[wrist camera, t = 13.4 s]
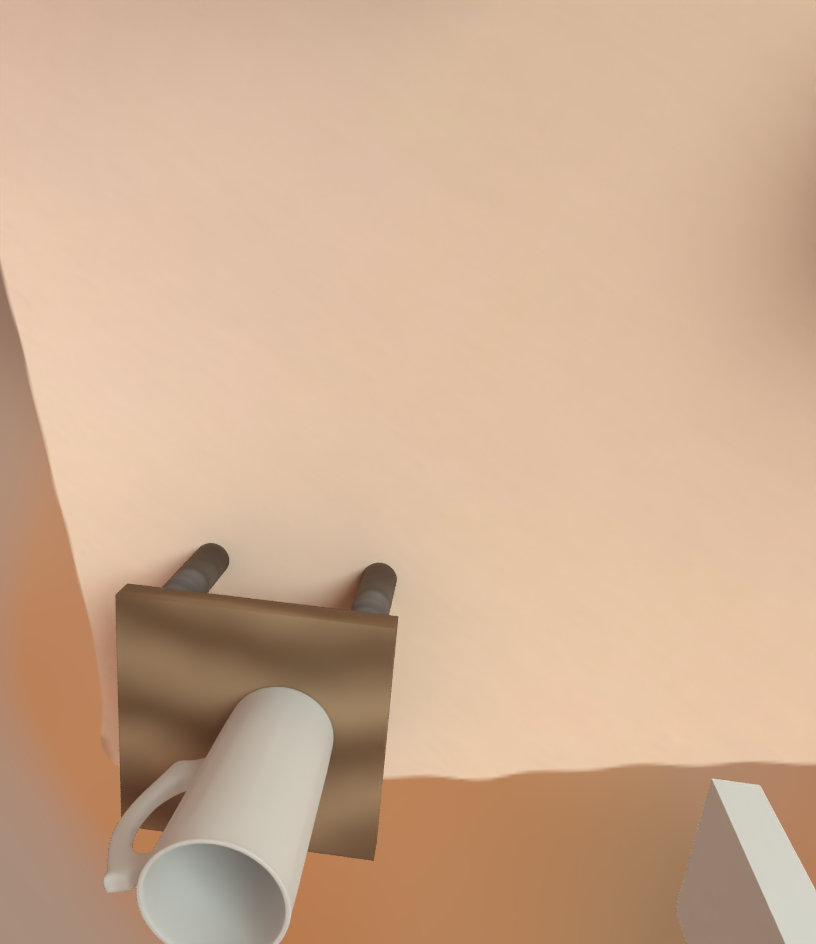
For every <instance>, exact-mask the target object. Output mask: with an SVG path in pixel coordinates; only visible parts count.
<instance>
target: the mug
mask: <svg viewBox="0 0 816 944" xmlns="http://www.w3.org/2000/svg"><path fill="white" fill-rule="evenodd" d="M333 740H334V736H333V728H332V724H331V721H330V719H329V717H328V715H327V714H326V712H325V711H324V709H323V708H322V707H321V706H320V705H319V704H318V703H317V702H316V701H315V700H314V699H312V698H311V697H309V696H308V695H306V694H304V693H302V692H300V691H298V690H295V689H291V688H286V687H266V688H262V689H259V690H256V691H254V692H252V693H250V694H248V695H247V696H246V697H244V698H243V699H242V700H241V701H240V702H239V703H238V704H237V706H236V707H235V708H234V710H233V712H232V713H231V715H230V717H229V718H228V720H227V721H226V723H225V725H224V726H223V728H222V730H221V732H220V733H219V735H218V737H217V739H216V740H215V742H214V744H213V746H212V747H211V749H210V751H209V753H208V755H207V756H206V758H202V759H198V760H183V761H178V762H176V763H174V764H173V765H172V766H171V767H170V768H169V769H168V770H167V771H166V772H165V773H164V774H162V775H161V776H160V777H159V778H158V779H157V780H156V781H155V782H154V783H153V784H152V785H151V786H150V787H148V788H147V789H146V790H145V791H144V792H143V793H142V794H141V795H140V796H139V797H138V798H137V799H136V800H135V801H134V803H133V804H132V805H131V806H130V807H129V808H128V810H127V811H126V812H125V813H124V815H123V816H122V818H121V819H120V821H119V822H118V824H117V826H116V828H115V830H114V832H113V834H112V837H111V840H110V843H109V849H108V860H107V861H108V862H107V872H106V874H105V876H104V878H103V884H104V887H105V890H106V891H107V892H108V893H114V892H121V891H129V890H131V889H132V888H134V887H135V886H137V888H136V896H137V904H138V907H139V910H140V913H141V915H142V917H143V919H144V921H145V922H146V924H147V925H148V927H149V928H150V929H151V931H152V932H153V933H154V934H155V935H156V936H157V937H158V938H159V939H160V940H161V941H162V942H164V943H165V944H278V943H279V942H280V941H281V940H282V938H283V937H284V935H285V933H286V931H287V929H288V926H289V923H290V918H291V913H292V909H293V906H294V902H295V898H296V895H297V891H298V887H299V883H300V879H301V875H302V871H303V867H304V863H305V859H306V854H307V851H308V847H309V843H310V838H311V834H312V830H313V826H314V822H315V818H316V814H317V810H318V806H319V802H320V798H321V794H322V790H323V786H324V782H325V778H326V774H327V770H328V766H329V761H330V756H331V752H332V747H333ZM185 791H186V793H185V795H184V796H183V798H182V800H181V802H180V803H179V805H178V807H177V809H176V810H175V812H174V814H173V816H172V817H171V819H170V821H169V823H168V824H167V826H166V828H165V830H164V831H163V833H162V835H161V837H160V838H159V840H158V842H157V844H156V846H155V847H154V849H153V851H152V852H150V853H144V854H141V853H136V852H134V850H133V840H134V837H135V835H136V833H137V831H138V829H139V828H140V826H141V825H142V823H143V822H144V821H145V820H146V818H147V817H148V816H149V815H150V814H151V813H152V812H153V811H154V810H155V809H156V808H157V807H158V806H160V805H161V804H162V803H164V802H165V801H167V800H168V799H170V798H172V797H174V796H176V795H178V794H180V793H182V792H185Z"/></svg>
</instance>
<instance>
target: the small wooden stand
mask: <svg viewBox="0 0 816 944" xmlns="http://www.w3.org/2000/svg"><path fill="white" fill-rule="evenodd" d="M228 565H229V556H228V554H227V552H226V551H225V549H224V548H222V547H221V546H219V545H217V544H214V543H208V544H205V545H203V546H201V547H200V548H199V549H198V550H197V551H196V552H195V553H194V554H193V555H192V557H191V558H190V559H189V560H188V561H187V562H186V563H185V564H184V565H183V566H182V567H181V568H180V569H179V570H178V571H177V572H176V573H175V574H174V576H173V577H172V578H171V579H170V580H169V581H168V582H167V583H166V584H165V585H164V586H163V587H162V588H159V587H151V586H143V585H134V584H127V585H126V586H124V587H123V588H122V589H121V590H120V591H119V592H118V593H117V594H116V595H115V596H116V633H117V670H118V708H119V745H120V781H121V818H122V816H123V815H124V813H125V812H126V811H127V810H128V808H129V807H130V806H131V805H132V804H133V803H134V801H135V800H136V799H137V798H138V797H139V796H140V795H141V794H142V793H143V792H144V791H145V790H146V789H147V788H148V787H150V786H151V785H152V784H153V783H154V782H155V781H156V780H157V779H158V778H159V777H160V776H161V775H162V774H164V773H165V772H166V771H167V770H168V769H169V768H170V767H171V766H172V765H173V764H174V763H176V762H178V761H183V760H198V759H202V758H206V756H207V755H208V753H209V751H210V749H211V747H212V746H213V744H214V742H215V740H216V739H217V737H218V735H219V733H220V732H221V730H222V728H223V726H224V725H225V723H226V721H227V720H228V718H229V717H230V715H231V713H232V712H233V710H234V708H235V707H236V706H237V704H238V703H239V702H240V701H241V700H242V699H243V698H244V697H246V696H247V695H248V694H250V693H252V692H254V691H256V690H259V689H262V688H266V687H286V688H291V689H295V690H298V691H300V692H302V693H304V694H306V695H308V696H309V697H311V698H312V699H314V700H315V701H316V702H317V703H318V704H319V705H320V706H321V707H322V708H323V709H324V711H325V712H326V714H327V715H328V717H329V719H330V721H331V724H332V728H333V736H334V740H333V747H332V752H331V756H330V761H329V766H328V770H327V774H326V778H325V782H324V786H323V790H322V794H321V798H320V802H319V806H318V810H317V814H316V818H315V822H314V826H313V830H312V834H311V838H310V843H309V847H308V851H307V852H315V853H321V854H329V855H337V856H344V857H351V858H357V859H365V860H372V861H373V860H374V855H375V849H376V843H377V833H378V823H379V813H380V802H381V791H382V781H383V771H384V760H385V750H386V740H387V729H388V719H389V708H390V698H391V687H392V677H393V667H394V656H395V646H396V635H397V625H398V616H391V615H389V612H390V608H391V604H392V599H393V595H394V590H395V586H396V581H397V577H396V574H395V572H394V570H393V569H392V568H391V567H390V566H388V565H386V564H383V563H374V564H372V565H370V566H368V567H367V568H366V569H365V571H364V573H363V576H362V579H361V582H360V585H359V588H358V591H357V594H356V597H355V600H354V603H353V605H352V608H351V611H350V610H342V609H333V608H325V607H317V606H308V605H300V604H292V603H284V602H275V601H267V600H259V599H250V598H242V597H234V596H225V595H217V594H209V593H208V591H209V590H210V589H211V588H212V586H213V585H214V584H215V583H216V581H217V580H218V579H219V578H220V576H221V575H222V574H223V573H224V571H225V570H226V569H227V567H228ZM185 793H186V791H185V792H182V793H180V794H178V795H176V796H174V797H172V798H170V799H168V800H167V801H165V802H164V803H162V804H161V805H160V806H158V807H157V808H156V809H155V810H154V811H153V812H152V813H151V814H150V815H149V816H148V817H147V818H146V820H145V821H144V822H143V823H142V825H141V826H140V828H142V829H149V830H156V831H164V830H165V828H166V826H167V824H168V823H169V821H170V819H171V817H172V816H173V814H174V812H175V810H176V809H177V807H178V805H179V803H180V802H181V800H182V798H183V796H184V795H185Z"/></svg>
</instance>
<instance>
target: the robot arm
mask: <svg viewBox="0 0 816 944" xmlns="http://www.w3.org/2000/svg"><path fill="white" fill-rule="evenodd" d="M676 912H677V915H678V919H679V922H680V925H681V928H682V931H683V935H684V938H685V942H686V944H816V890H815V888H814V886H813V884H812V883H811V881H810V879H809V877H808V875H807V873H806V871H805V869H804V868H803V866H802V864H801V862H800V860H799V858H798V856H797V854H796V852H795V850H794V849H793V847H792V845H791V843H790V841H789V839H788V837H787V835H786V833H785V832H784V830H783V828H782V826H781V824H780V822H779V820H778V818H777V816H776V815H775V813H774V811H773V809H772V807H771V805H770V803H769V801H768V800H767V798H766V796H765V794H764V792H763V790H762V788H761V786H760V785H754V784H747V783H740V782H732V781H726V780H719V779H711V783H710V787H709V790H708V794H707V797H706V801H705V805H704V808H703V812H702V816H701V819H700V822H699V826H698V830H697V833H696V837H695V841H694V844H693V848H692V851H691V855H690V858H689V862H688V866H687V869H686V873H685V876H684V880H683V884H682V887H681V891H680V894H679V898H678V902H677V905H676Z"/></svg>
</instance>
